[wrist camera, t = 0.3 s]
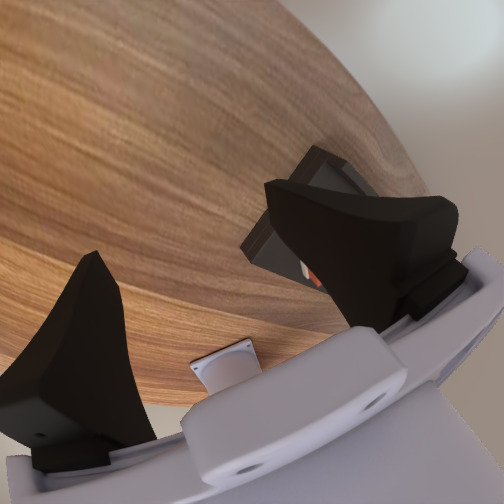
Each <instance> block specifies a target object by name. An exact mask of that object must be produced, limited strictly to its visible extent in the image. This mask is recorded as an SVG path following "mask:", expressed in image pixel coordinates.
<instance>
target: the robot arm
mask: <svg viewBox="0 0 504 504" xmlns="http://www.w3.org/2000/svg"><path fill="white" fill-rule="evenodd" d="M264 187H265V193H266V199H267V205H268V211H269V217H270V223H271V226H272V227H273V229H274V230H275V231H276V233H277V234H278V236H279V237H280V238H281V240H282V241H283V242H284V243H285V244H286V246H287V247H288V248H289V249H290V250H291V251H292V252H293V253H294V254H295V255H296V256H297V257H298V258H299V259H300V260H301V261H302V262H303V263H304V265H305V266H306V267H307V268H308V269H309V270H310V271H311V272H312V273H313V274H314V275H315V276H316V278H317V279H318V280H319V281H320V283H321V284H322V285H323V287H324V288H325V289H326V291H327V292H328V293H329V295H330V296H331V298H332V299H333V301H334V302H335V304H336V305H337V307H338V308H339V310H340V311H341V313H342V314H343V316H344V317H345V319H346V321H347V322H348V324H349V325H350V327H351V328H350V329H347V330H345V331H343V332H340V333H338V334H335V335H333V336H331V337H330V338H328V339H326V340H324V341H322V342H321V343H319V344H317V345H315V346H313V347H311V348H310V349H308V350H306V351H304V352H302V353H300V354H298V355H296V356H294V357H292V358H290V359H288V360H286V361H284V362H282V363H280V364H278V365H276V366H274V367H272V368H270V369H268V370H266V371H264V372H262V370H261V367H260V365H259V362H258V359H257V356H256V353H255V350H254V347H253V344H252V341H251V340H250V339H245V340H243V341H241V342H239V343H237V344H234V345H232V346H230V347H228V348H225V349H223V350H221V351H218V352H216V353H214V354H211V355H209V356H207V357H204V358H202V359H200V360H197V361H195V362H192V363H191V364H190V367H191V369H192V370H193V372H194V373H195V374H196V375H197V377H198V378H199V379H200V381H201V382H202V383H203V384H204V386H205V387H206V389H207V391H208V394H209V397H207V398H205V399H203V400H201V401H200V402H198V403H196V404H194V405H193V406H192V408H191V409H190V410H189V411H188V412H187V414H186V415H185V416H184V417H183V418H182V420H181V421H180V424H181V426H182V429H183V432H180V433H177V434H174V435H171V436H168V437H164V438H161V439H157V437H156V435H155V433H154V431H153V428H152V427H151V424H150V422H149V419H148V417H147V414H146V412H145V409H144V407H143V404H142V401H141V398H140V395H139V392H138V389H137V386H136V383H135V380H134V376H133V372H132V369H131V365H130V361H129V355H128V348H127V340H126V331H125V320H124V310H123V304H122V299H121V294H120V290H119V286H118V285H117V283H116V281H115V280H114V278H113V277H112V275H111V273H110V272H109V270H108V268H107V267H106V265H105V263H104V262H103V260H102V258H101V256H100V255H99V253H98V251H97V250H95V251H93V252H91V253H89V254H87V255H84V256H83V258H82V259H81V261H80V262H79V264H78V265H77V267H76V269H75V270H74V272H73V274H72V276H71V277H70V279H69V281H68V283H67V285H66V286H65V288H64V290H63V292H62V293H61V295H60V297H59V298H58V300H57V302H56V304H55V305H54V307H53V309H52V310H51V312H50V314H49V315H48V317H47V318H46V320H45V321H44V323H43V324H42V326H41V327H40V329H39V330H38V332H37V333H36V334H35V336H34V337H33V338H32V340H31V341H30V342H29V344H28V345H27V346H26V348H25V349H24V350H23V351H22V353H21V354H20V355H19V356H18V358H17V359H16V360H15V361H14V362H13V363H12V364H11V366H10V367H9V368H8V369H7V370H6V371H5V372H4V373H3V374H2V375H1V376H0V432H2V433H3V434H5V435H6V436H8V437H10V438H12V439H14V440H16V441H17V442H19V443H21V444H23V445H25V446H27V447H29V448H31V456H32V457H31V456H28V455H15V456H7V457H6V466H7V477H8V486H9V493H10V499H11V504H504V471H503V470H502V469H501V467H500V466H499V465H498V463H497V462H496V460H495V459H494V458H493V456H492V455H491V454H490V452H489V451H488V450H487V449H486V447H485V446H484V445H483V444H482V442H481V441H480V440H479V438H478V437H477V436H476V434H475V433H474V432H473V431H472V429H471V428H470V427H469V426H468V424H467V423H466V422H465V421H464V420H463V418H462V417H461V416H460V415H459V413H458V412H457V411H456V410H455V409H454V407H453V406H452V405H451V404H450V402H449V401H448V400H447V399H446V398H445V396H444V395H443V394H442V393H441V392H440V391H439V389H438V387H439V386H440V385H441V384H442V383H443V382H444V381H446V379H448V377H449V376H450V375H451V374H452V373H453V372H454V371H455V370H456V369H457V368H458V367H459V366H460V365H461V364H462V363H463V362H464V361H465V359H466V358H467V357H468V356H469V355H470V354H471V353H472V352H473V350H474V349H475V348H476V347H477V346H478V345H479V343H480V342H481V341H482V340H483V338H484V337H485V336H486V335H487V334H488V333H489V331H490V330H491V329H492V327H493V326H494V325H495V324H496V322H497V321H498V319H499V318H500V316H501V315H502V313H503V312H504V266H503V265H502V264H501V263H499V262H498V261H497V260H496V259H494V258H493V257H492V256H491V255H489V254H488V253H486V252H485V251H484V250H483V249H482V248H480V247H479V246H477V247H475V248H474V249H473V250H472V251H471V252H470V253H468V254H467V255H466V256H465V257H464V258H463V260H462V262H461V263H460V262H459V261H457V260H456V259H455V258H456V256H457V253H456V252H455V251H454V250H453V249H451V246H452V243H453V239H454V236H455V232H456V229H457V225H458V216H459V214H458V210H457V206H456V205H455V204H453V203H452V202H451V201H449V200H447V199H446V198H444V197H442V196H429V197H414V198H394V197H375V196H364V195H357V194H349V193H343V192H338V191H333V190H328V189H323V188H319V187H315V186H310V185H306V184H302V183H298V182H293V181H289V180H283V179H275V180H273V181H270V182H267V183H264Z"/></svg>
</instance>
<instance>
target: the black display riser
mask: <svg viewBox="0 0 504 504" xmlns="http://www.w3.org/2000/svg"><path fill="white" fill-rule="evenodd" d="M288 180H289V181H293V182H298V183H302V184H306V185H310V186H315V187H319V188H323V189H328V190H333V191H338V192H343V193H349V194H357V195H364V196H375V197H379V196H378V194H377V193H376V192H375V191H374V190H373V189H372V187H371V186H370V185H369V184H368V183H367V182H366V181H365V180H364V179H363V177H362V176H361V175H360V174H359V173H358V172H357V171H356V170H355V169H354V168H353V167H352V165H351V164H350V163H349V162H348V161H346V160H344V159H342V158H340V157H338V156H336V155H334V154H331V153H329V152H327V151H325V150H322V149H321V148H318V147H316V146H314V145H313V146H312V147H311V149H310V150H309V152H308V153H307V154H306V156H305V157H304V159H303V160H302V161H301V163H300V164H299V165H298V167H297V168H296V170H295V171H294V172H293V174H292V175H291V177H290V178H289V179H288ZM240 249H241V250H242V251H243V253H244V254H245V255H246V257H247V258H248V260H249V261H250V263H251V264H254V265H256V266H259V267H261V268H264V269H266V270H269V271H271V272H274V273H276V274H279V275H281V276H284V277H286V278H289V279H291V280H294V281H296V282H299V283H301V284H304V285H306V286H309V287H311V288H314V289H316V290H319V291H321V292H324V293H326V294H329V293H328V292H327V291H326V289H325V288H324V287H323V285H320V286H319V287H318V286H317V285H316V284H315V283H314V282H313V281H312V280H311V278H308V279H307V278H306V277H305V276H304V275H303V271H302V267H301V262H300V259H299V258H298V257H297V256H296V255H295V254H294V253H293V252H292V251H291V250H290V249H289V248H288V247H287V246H286V244H285V243H284V242H283V241H282V240H281V238H280V237H279V236H278V234H277V233H276V231H275V230H274V229H273V227H272V226H271V223H270V217H269V211H268V209H267V210H266V211H265V213H264V214H263V216H262V217H261V218H260V220H259V221H258V223H257V224H256V225H255V227H254V228H253V230H252V231H251V233H250V234H249V235H248V237H247V238H246V240H245V241H244V242H243V244H242V245H241V247H240Z"/></svg>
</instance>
